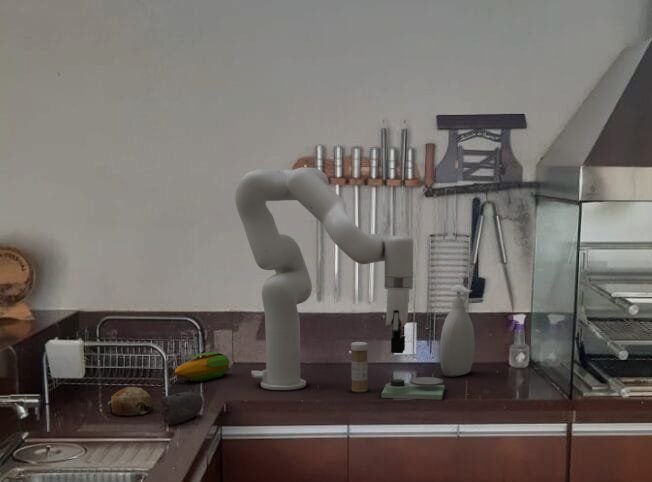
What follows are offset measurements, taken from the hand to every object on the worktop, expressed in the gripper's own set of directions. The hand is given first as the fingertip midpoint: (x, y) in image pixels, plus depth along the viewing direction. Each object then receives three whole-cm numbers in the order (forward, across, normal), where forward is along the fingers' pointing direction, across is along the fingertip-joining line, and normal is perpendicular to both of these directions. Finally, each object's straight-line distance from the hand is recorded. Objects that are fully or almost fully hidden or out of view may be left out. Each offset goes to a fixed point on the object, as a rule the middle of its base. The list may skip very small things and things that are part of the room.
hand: (398, 351), depth 239 cm
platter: (+9, -4, +8) cm, 13 cm away
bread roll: (+12, +28, -63) cm, 70 cm away
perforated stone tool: (+12, +34, -47) cm, 59 cm away
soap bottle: (+12, -30, +15) cm, 36 cm away
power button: (+10, 0, 0) cm, 10 cm away
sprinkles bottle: (+12, -4, -11) cm, 17 cm away
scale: (+12, -3, +4) cm, 13 cm away
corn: (+12, -12, -58) cm, 61 cm away
